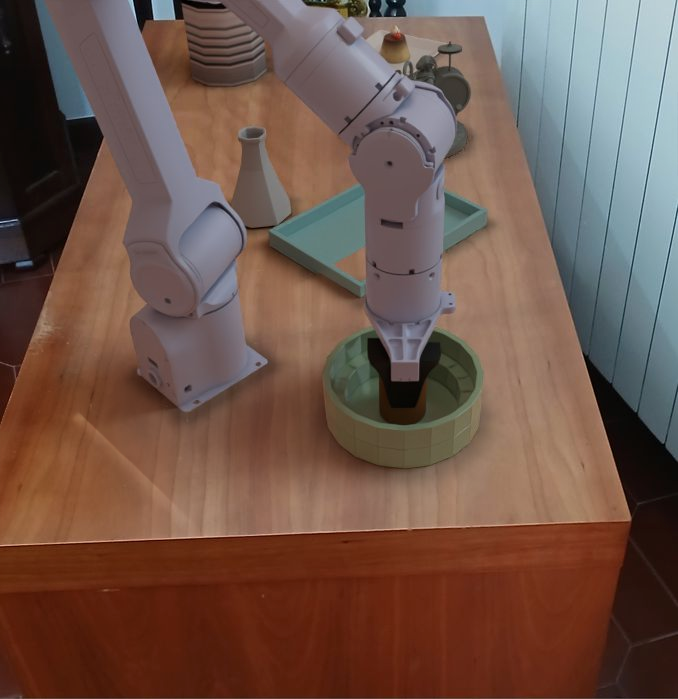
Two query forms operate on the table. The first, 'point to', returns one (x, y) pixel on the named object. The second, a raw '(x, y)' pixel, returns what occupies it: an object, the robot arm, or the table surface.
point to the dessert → (402, 47)
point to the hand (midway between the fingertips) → (402, 386)
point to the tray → (356, 232)
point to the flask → (258, 183)
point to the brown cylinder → (401, 414)
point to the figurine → (445, 86)
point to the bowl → (403, 440)
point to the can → (221, 45)
